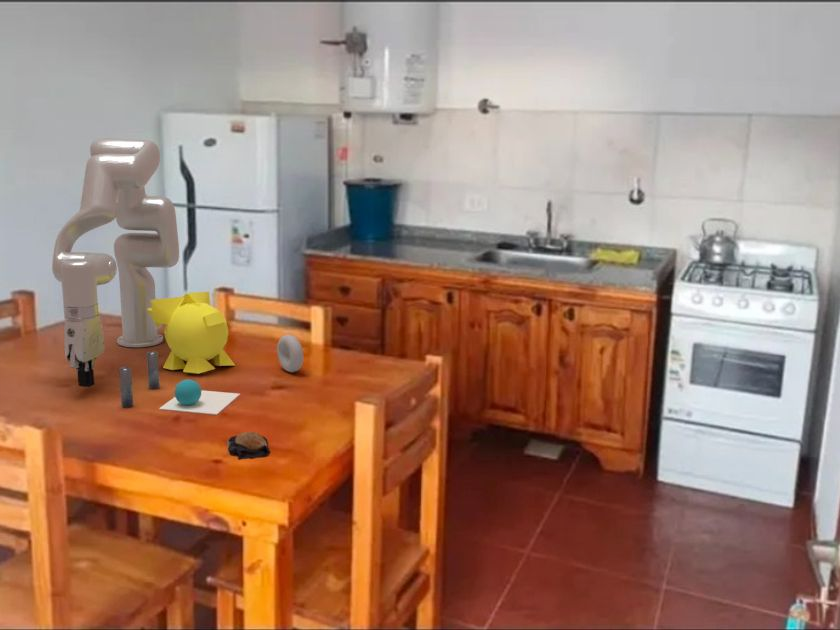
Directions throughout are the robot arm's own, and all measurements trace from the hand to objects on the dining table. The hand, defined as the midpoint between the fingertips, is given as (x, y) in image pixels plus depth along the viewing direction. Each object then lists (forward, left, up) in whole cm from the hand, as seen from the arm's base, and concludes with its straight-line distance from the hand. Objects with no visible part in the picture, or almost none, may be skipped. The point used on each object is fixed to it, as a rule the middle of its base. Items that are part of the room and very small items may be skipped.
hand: (86, 385), depth 206 cm
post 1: (+7, +14, -2) cm, 16 cm away
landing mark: (0, +29, -2) cm, 29 cm away
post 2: (-7, +14, -2) cm, 16 cm away
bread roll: (+23, +50, -2) cm, 55 cm away
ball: (+2, +27, +2) cm, 27 cm away
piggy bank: (-25, +16, -2) cm, 30 cm away
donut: (-27, +42, -2) cm, 50 cm away
